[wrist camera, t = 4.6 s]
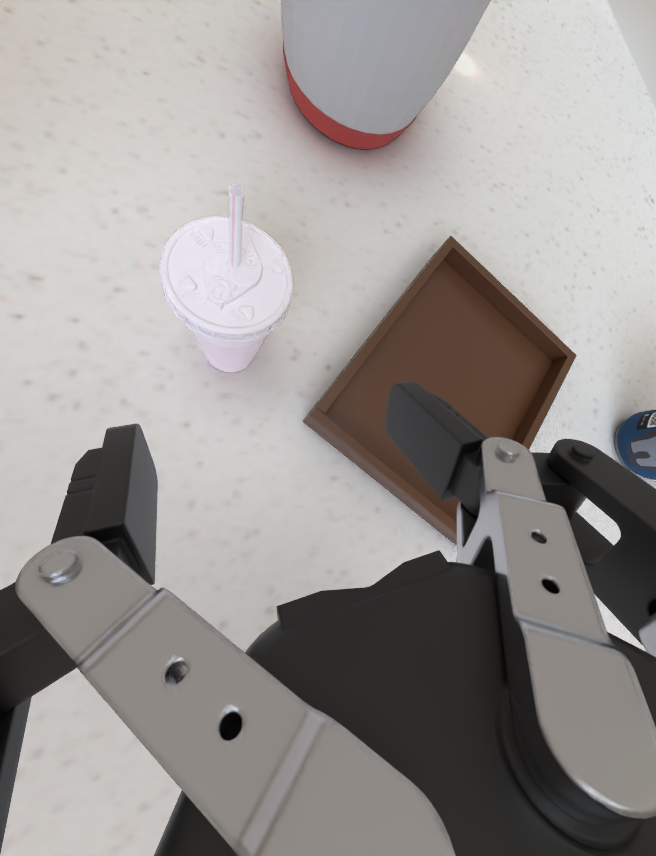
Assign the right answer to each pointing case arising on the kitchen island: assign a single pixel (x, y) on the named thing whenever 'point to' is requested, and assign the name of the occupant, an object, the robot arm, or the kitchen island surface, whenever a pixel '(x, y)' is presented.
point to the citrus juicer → (371, 61)
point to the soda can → (638, 443)
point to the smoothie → (227, 284)
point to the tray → (445, 373)
